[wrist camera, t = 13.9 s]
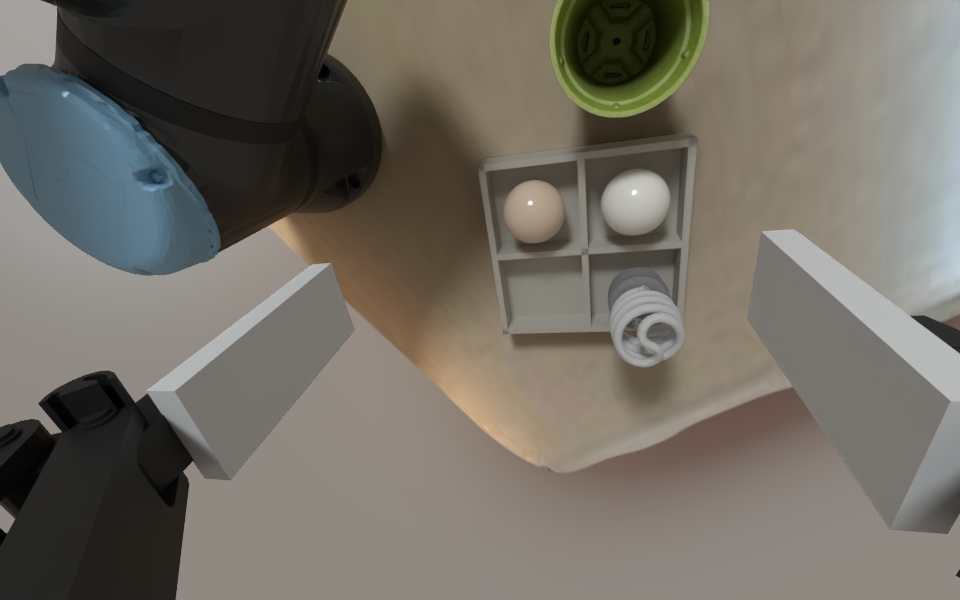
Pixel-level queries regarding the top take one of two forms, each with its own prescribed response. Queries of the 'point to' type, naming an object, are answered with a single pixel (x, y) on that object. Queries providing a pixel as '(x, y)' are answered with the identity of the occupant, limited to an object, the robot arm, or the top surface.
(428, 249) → the top surface
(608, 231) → the carton
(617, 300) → the light bulb
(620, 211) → the white egg
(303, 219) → the top surface
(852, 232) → the top surface
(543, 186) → the brown egg
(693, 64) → the plant pot
